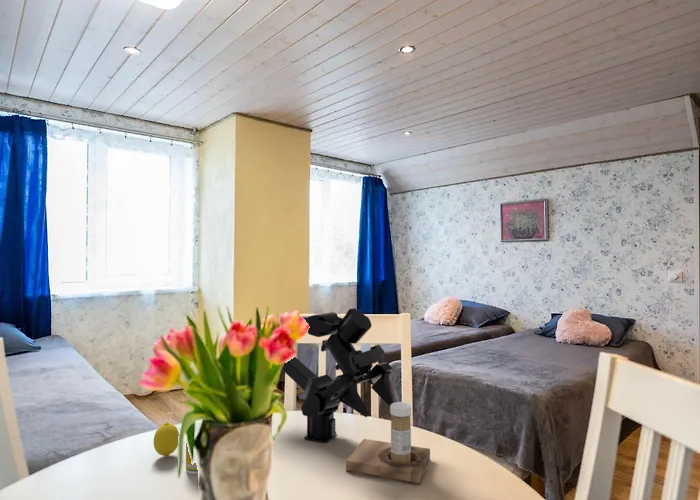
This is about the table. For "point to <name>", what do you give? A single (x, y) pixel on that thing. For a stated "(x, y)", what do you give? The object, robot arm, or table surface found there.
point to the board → (387, 462)
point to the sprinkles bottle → (400, 432)
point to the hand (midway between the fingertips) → (380, 410)
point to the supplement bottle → (189, 467)
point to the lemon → (166, 439)
